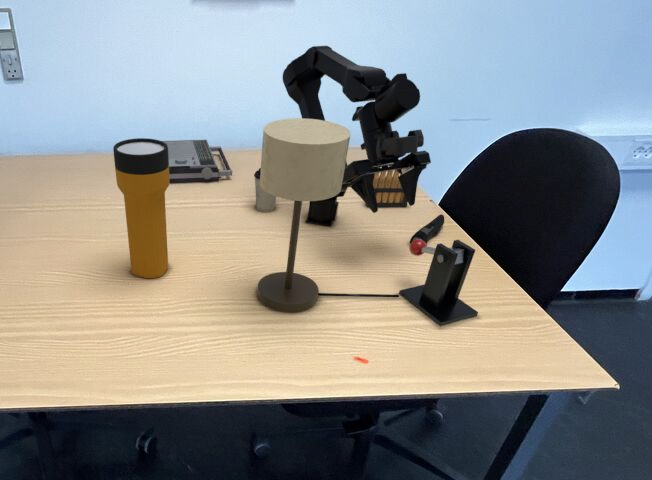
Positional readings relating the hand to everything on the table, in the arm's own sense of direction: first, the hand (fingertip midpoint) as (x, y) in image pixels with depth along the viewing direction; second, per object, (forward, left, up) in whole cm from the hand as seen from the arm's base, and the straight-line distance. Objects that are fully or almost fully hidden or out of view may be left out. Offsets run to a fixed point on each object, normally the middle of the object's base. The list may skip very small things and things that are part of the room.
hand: (394, 208), depth 107 cm
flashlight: (-47, -20, -13) cm, 52 cm away
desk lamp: (-9, -17, -13) cm, 24 cm away
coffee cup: (-32, +20, -13) cm, 40 cm away
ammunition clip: (-2, +33, -13) cm, 36 cm away
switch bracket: (+12, -13, -13) cm, 22 cm away
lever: (+9, -10, -5) cm, 15 cm away
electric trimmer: (+9, +18, -13) cm, 24 cm away
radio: (-60, +41, -13) cm, 74 cm away
